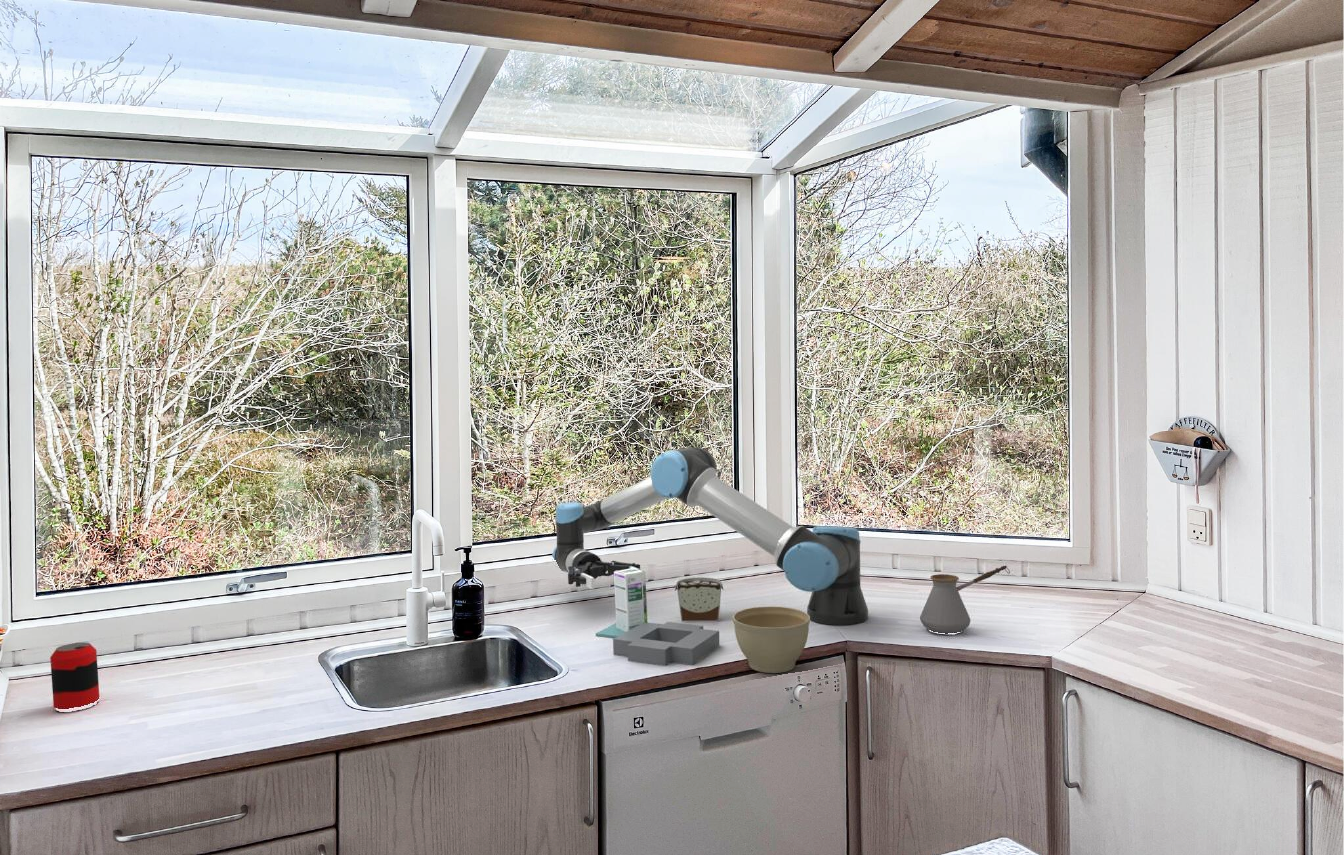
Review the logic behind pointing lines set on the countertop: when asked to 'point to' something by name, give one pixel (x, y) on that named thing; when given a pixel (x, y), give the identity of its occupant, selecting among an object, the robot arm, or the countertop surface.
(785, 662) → the planter bowl
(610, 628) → the service mat
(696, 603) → the food container
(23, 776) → the countertop surface
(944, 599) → the coffee pot
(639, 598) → the syrup box
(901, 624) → the countertop surface
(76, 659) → the soda can
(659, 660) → the frame
